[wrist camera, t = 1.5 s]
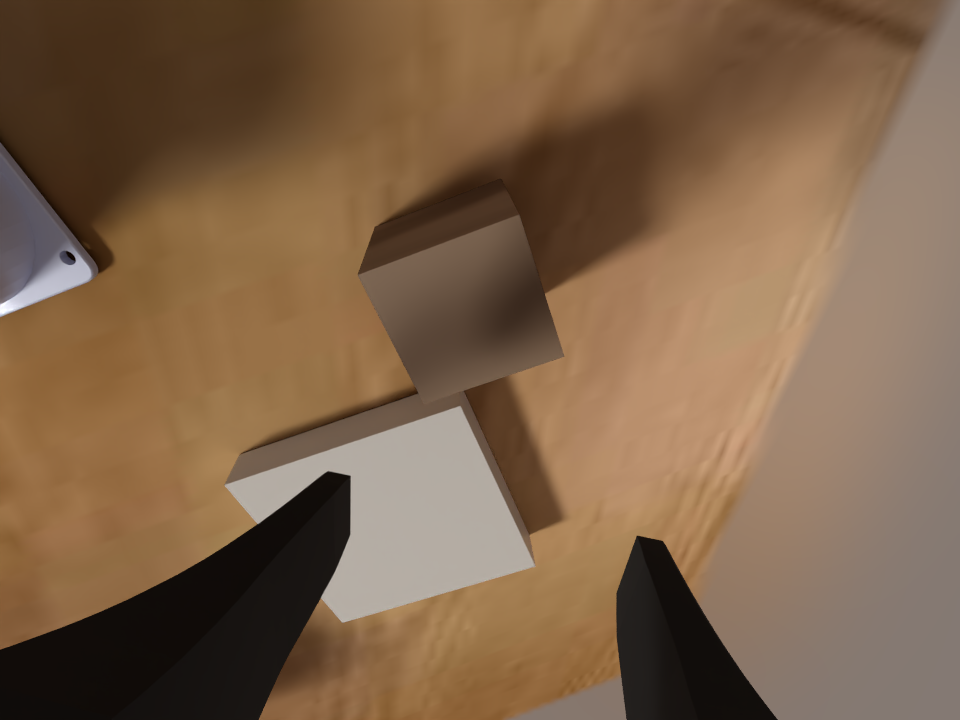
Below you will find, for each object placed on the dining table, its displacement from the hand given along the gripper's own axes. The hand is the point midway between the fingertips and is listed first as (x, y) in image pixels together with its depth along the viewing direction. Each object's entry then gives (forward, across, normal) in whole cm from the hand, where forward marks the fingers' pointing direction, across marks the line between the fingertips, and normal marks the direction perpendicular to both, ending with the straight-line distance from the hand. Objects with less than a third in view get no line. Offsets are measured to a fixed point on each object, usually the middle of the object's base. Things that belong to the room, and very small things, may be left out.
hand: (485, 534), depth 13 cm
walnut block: (+10, +3, -4) cm, 11 cm away
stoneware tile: (+10, +5, +9) cm, 14 cm away
